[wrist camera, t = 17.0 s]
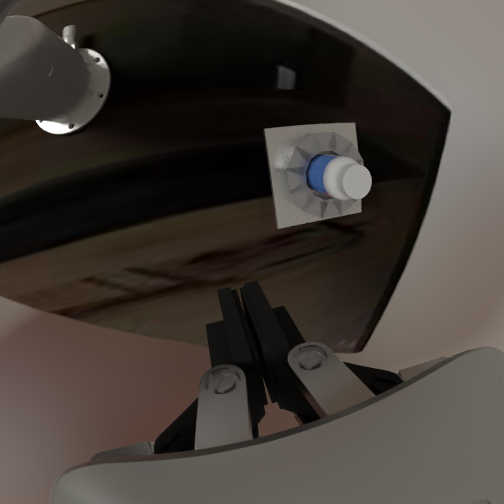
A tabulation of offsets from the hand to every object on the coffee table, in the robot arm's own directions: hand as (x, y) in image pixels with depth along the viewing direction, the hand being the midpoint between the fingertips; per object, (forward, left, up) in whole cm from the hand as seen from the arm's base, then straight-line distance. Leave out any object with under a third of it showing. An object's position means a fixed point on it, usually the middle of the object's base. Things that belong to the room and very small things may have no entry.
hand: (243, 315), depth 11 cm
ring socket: (-1, +16, -27) cm, 31 cm away
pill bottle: (-1, +16, -26) cm, 31 cm away
